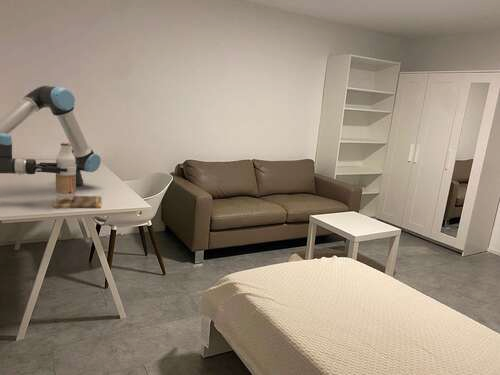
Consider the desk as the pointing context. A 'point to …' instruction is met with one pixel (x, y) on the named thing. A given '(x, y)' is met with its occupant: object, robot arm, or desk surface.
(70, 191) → the fruit juice
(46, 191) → the desk surface
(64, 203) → the floor panel
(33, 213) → the desk surface
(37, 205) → the desk surface
